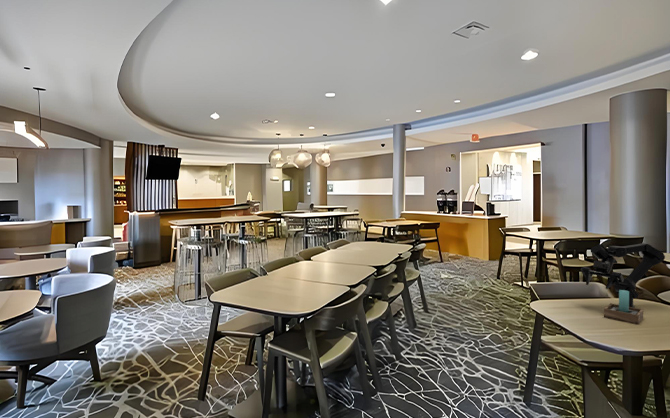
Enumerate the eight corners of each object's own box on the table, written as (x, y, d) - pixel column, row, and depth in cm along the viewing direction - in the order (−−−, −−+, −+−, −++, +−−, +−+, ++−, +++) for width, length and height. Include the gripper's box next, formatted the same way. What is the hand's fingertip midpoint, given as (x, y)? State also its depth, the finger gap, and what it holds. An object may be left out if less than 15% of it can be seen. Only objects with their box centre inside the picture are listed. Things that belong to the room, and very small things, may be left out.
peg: (619, 313, 183) (620, 289, 183) (629, 315, 180) (629, 291, 179) (617, 315, 180) (618, 290, 180) (627, 317, 177) (628, 292, 177)
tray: (610, 311, 190) (610, 303, 190) (643, 318, 179) (643, 309, 179) (603, 317, 181) (604, 308, 181) (638, 324, 171) (638, 315, 170)
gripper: (582, 253, 200) (572, 274, 195) (622, 258, 184) (612, 281, 179) (588, 265, 204) (579, 286, 199) (627, 271, 189) (618, 294, 183)
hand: (596, 286), depth 190 cm, fingers open, 9 cm apart
